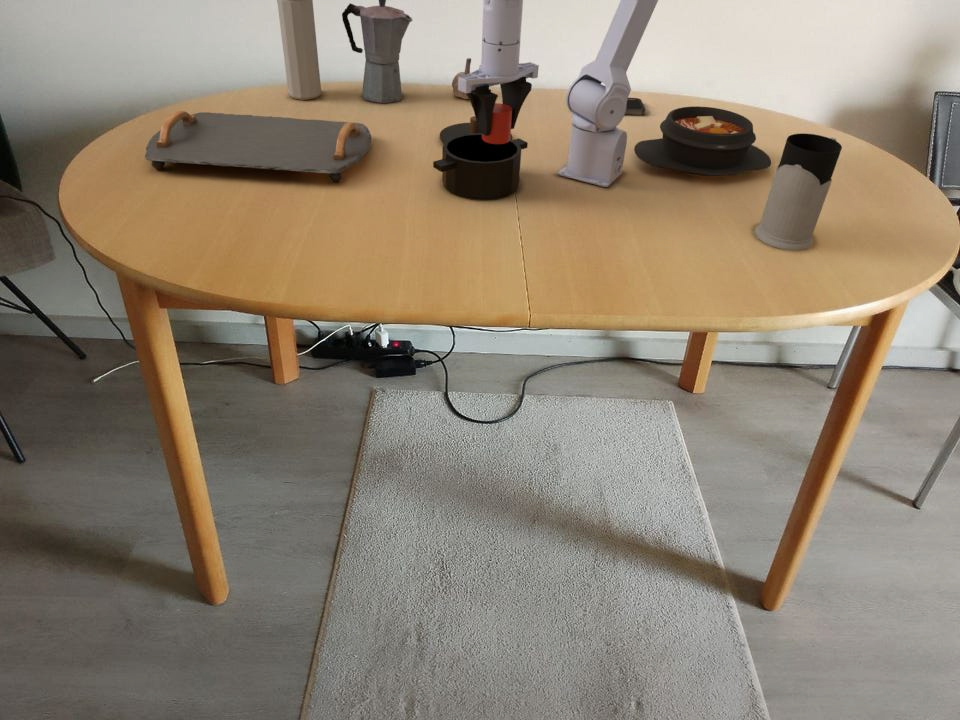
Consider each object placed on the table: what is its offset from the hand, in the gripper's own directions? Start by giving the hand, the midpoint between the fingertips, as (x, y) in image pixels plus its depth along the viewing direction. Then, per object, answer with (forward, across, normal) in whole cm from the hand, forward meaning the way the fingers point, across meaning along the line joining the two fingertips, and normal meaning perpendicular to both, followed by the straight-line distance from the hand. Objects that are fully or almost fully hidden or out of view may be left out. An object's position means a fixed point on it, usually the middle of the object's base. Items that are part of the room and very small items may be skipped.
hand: (496, 130), depth 116 cm
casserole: (+11, -39, +13) cm, 43 cm away
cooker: (+10, 0, -4) cm, 11 cm away
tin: (+1, 0, 0) cm, 1 cm away
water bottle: (+11, +2, -61) cm, 62 cm away
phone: (+10, -48, -18) cm, 52 cm away
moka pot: (+11, -10, -51) cm, 53 cm away
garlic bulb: (+11, -27, -41) cm, 50 cm away
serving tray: (+11, +24, -35) cm, 44 cm away
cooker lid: (+10, -12, -19) cm, 25 cm away
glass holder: (+11, -29, +38) cm, 49 cm away
